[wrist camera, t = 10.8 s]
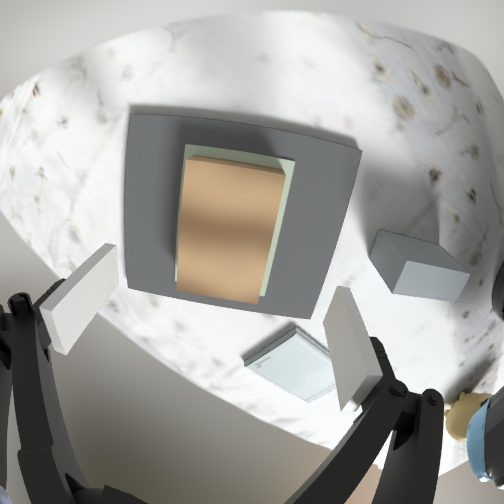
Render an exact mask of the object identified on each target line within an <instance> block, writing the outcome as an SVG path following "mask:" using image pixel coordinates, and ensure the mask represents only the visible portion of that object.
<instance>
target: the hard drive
mask: <svg viewBox="0 0 504 504" xmlns="http://www.w3.org/2000/svg"><path fill="white" fill-rule="evenodd" d="M244 367H246V368H247V369H249V370H251V371H252V372H254V373H255V374H257V375H259V376H261V377H262V378H264V379H266V380H267V381H269V382H271V383H272V384H274V385H276V386H278V387H279V388H281V389H283V390H285V391H287V392H288V393H290V394H292V395H294V396H296V397H298V398H300V399H301V400H304V401H305V402H307V403H309V402H312V401H314V400H316V399H318V398H320V397H322V396H324V395H325V394H327V393H329V392H331V391H333V390H335V389H336V388H337V387H336V382H335V377H334V372H333V367H332V362H331V357H330V353H329V352H328V351H327V350H325V349H324V348H323V347H321V346H320V345H319V344H318V343H316V342H315V341H314V340H312V339H311V338H310V337H309V336H307V335H306V334H305V333H303V332H302V331H301V330H300V329H298V328H297V327H295V328H294V329H292V330H291V331H289V332H288V333H286V334H285V335H283V336H282V337H281V338H279V339H278V340H276V341H275V342H273V343H272V344H270V345H269V346H267V347H266V348H264V349H263V350H261V351H260V352H258V353H256V354H255V355H253V356H252V357H250V358H249V359H247V360H245V361H244Z"/></svg>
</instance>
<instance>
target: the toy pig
mask: <svg viewBox="0 0 504 504" xmlns="http://www.w3.org/2000/svg"><path fill="white" fill-rule="evenodd" d="M491 396H492V395H491V394H489V393H481V394H478V393H468V394H466V393H465V392H461V393H460V395H459V399H458V400H457V401H456V402H455V403H454V404H453V406H452V407H451V408H450V409H447V410H445V412H444V415H445V417H446V429H447V431H448V433H449V434H450V436H451V437H453V438H454V439H456V440H458V441H466V438H467V430H468V425H469V422H470V420H471V418H472V417H473V415H474V414H475V413H476V412H477V411H478V410H479V409H480V408H481V407H482V406H483V405H484V404H485V403H486V402H487V401H488V399H489V398H490V397H491Z"/></svg>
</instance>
